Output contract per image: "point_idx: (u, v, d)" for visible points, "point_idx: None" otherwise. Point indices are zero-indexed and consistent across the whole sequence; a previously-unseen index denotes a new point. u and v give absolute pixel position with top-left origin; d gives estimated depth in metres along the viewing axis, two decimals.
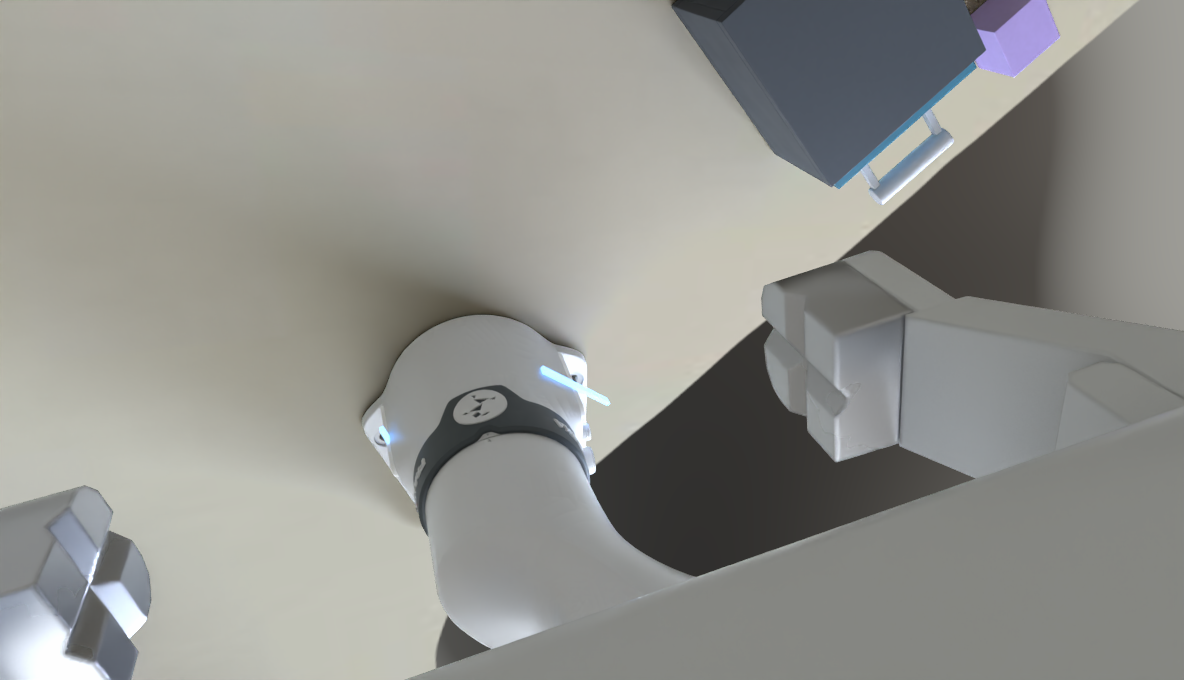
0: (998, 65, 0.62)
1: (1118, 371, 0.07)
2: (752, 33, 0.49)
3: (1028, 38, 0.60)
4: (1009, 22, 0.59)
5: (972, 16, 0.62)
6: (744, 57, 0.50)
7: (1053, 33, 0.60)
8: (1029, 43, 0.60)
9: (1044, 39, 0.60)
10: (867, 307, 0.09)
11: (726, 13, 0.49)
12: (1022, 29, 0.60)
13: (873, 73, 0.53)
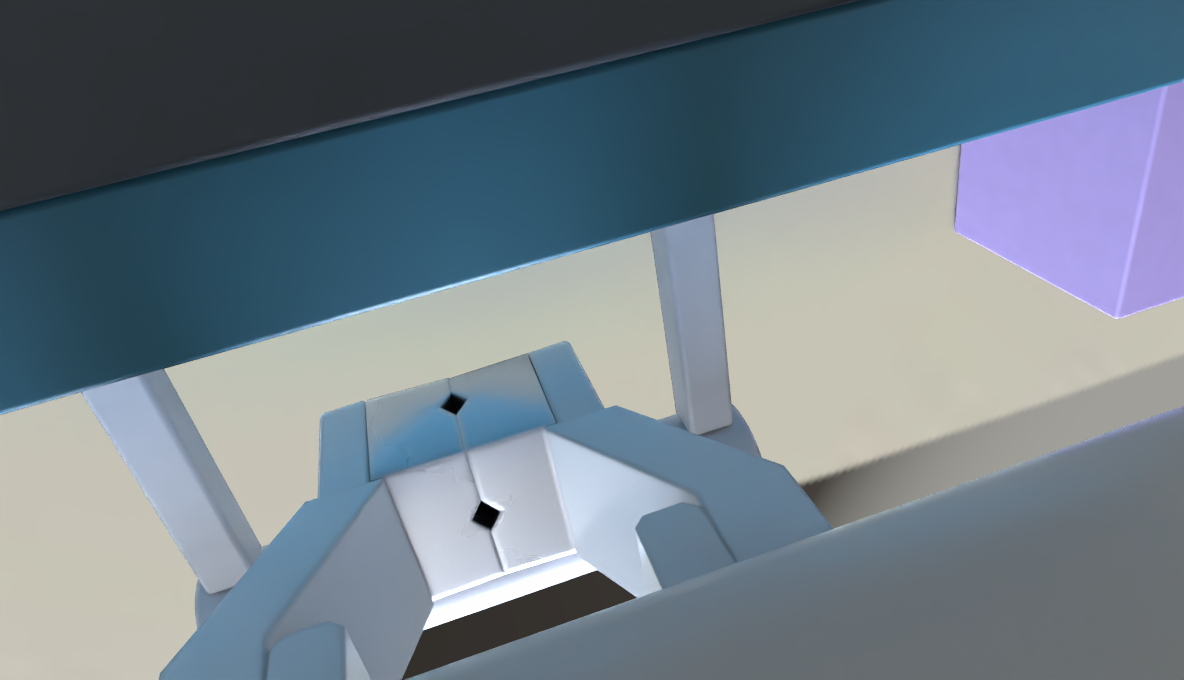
0: (1063, 240, 0.13)
1: (690, 516, 0.06)
2: None
3: None
4: None
5: None
6: None
7: None
8: None
9: None
10: (516, 415, 0.08)
11: None
12: None
13: None
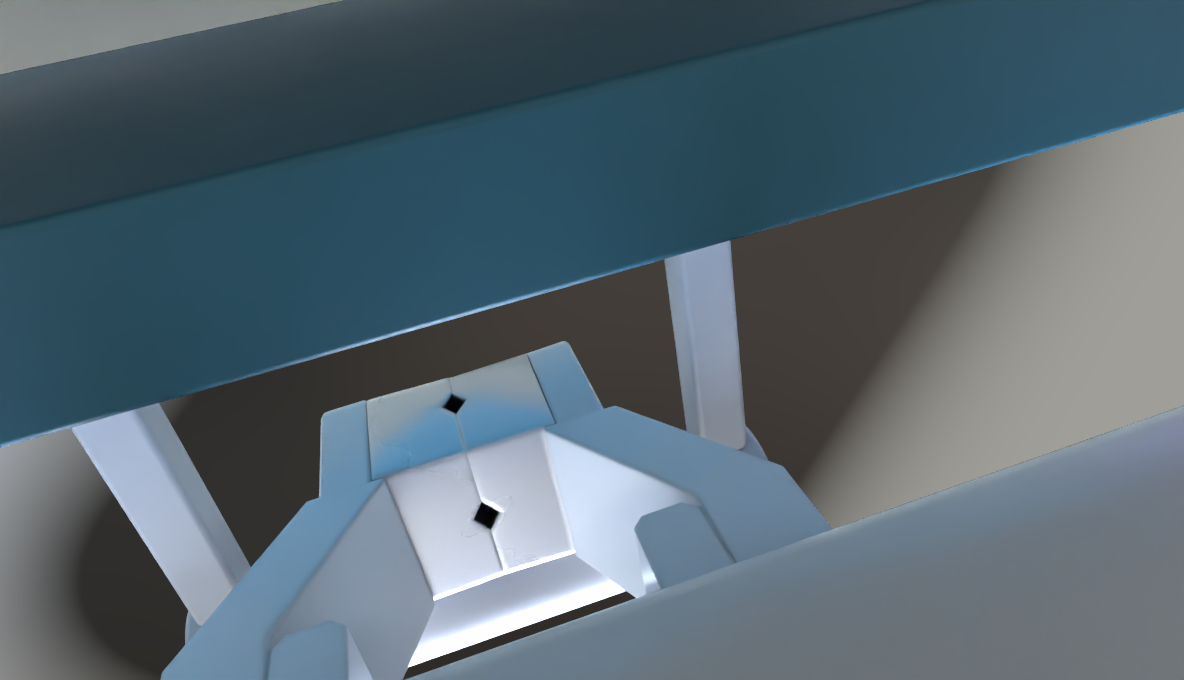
0: None
1: (689, 517, 0.06)
2: None
3: None
4: None
5: None
6: None
7: None
8: None
9: None
10: (515, 415, 0.08)
11: None
12: None
13: None
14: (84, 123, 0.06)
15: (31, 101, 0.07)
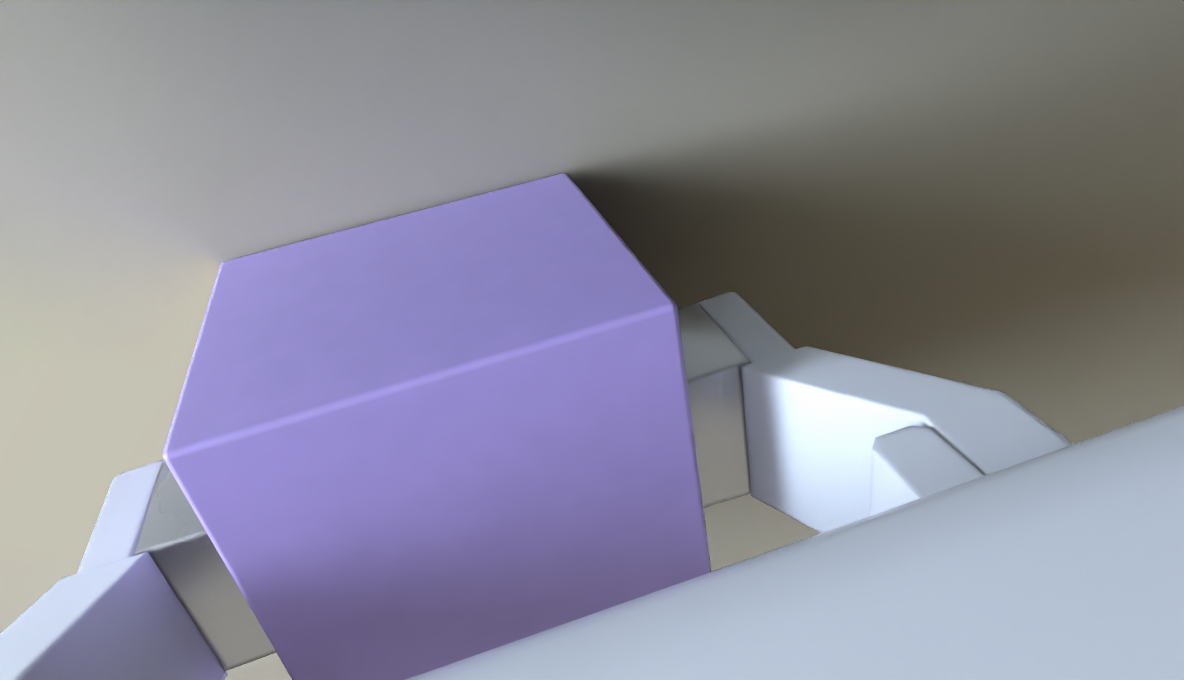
0: (285, 346, 0.07)
1: (925, 437, 0.07)
2: None
3: (464, 564, 0.08)
4: (672, 426, 0.08)
5: None
6: None
7: None
8: (418, 574, 0.08)
9: (386, 672, 0.08)
10: (707, 356, 0.08)
11: None
12: (561, 519, 0.08)
13: None
14: None
15: None
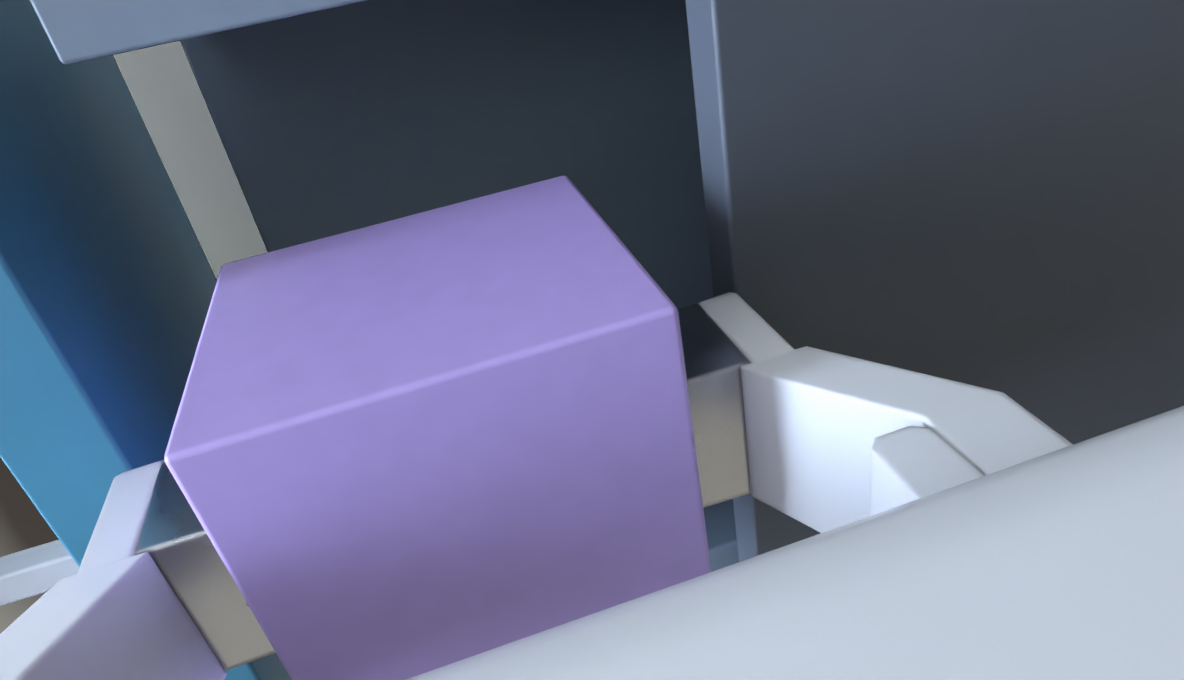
0: (286, 349, 0.07)
1: (925, 437, 0.07)
2: None
3: (465, 566, 0.08)
4: (673, 428, 0.08)
5: None
6: None
7: None
8: (420, 576, 0.08)
9: (386, 674, 0.08)
10: (706, 356, 0.08)
11: None
12: (561, 522, 0.08)
13: (1059, 215, 0.11)
14: (112, 272, 0.11)
15: (111, 174, 0.12)
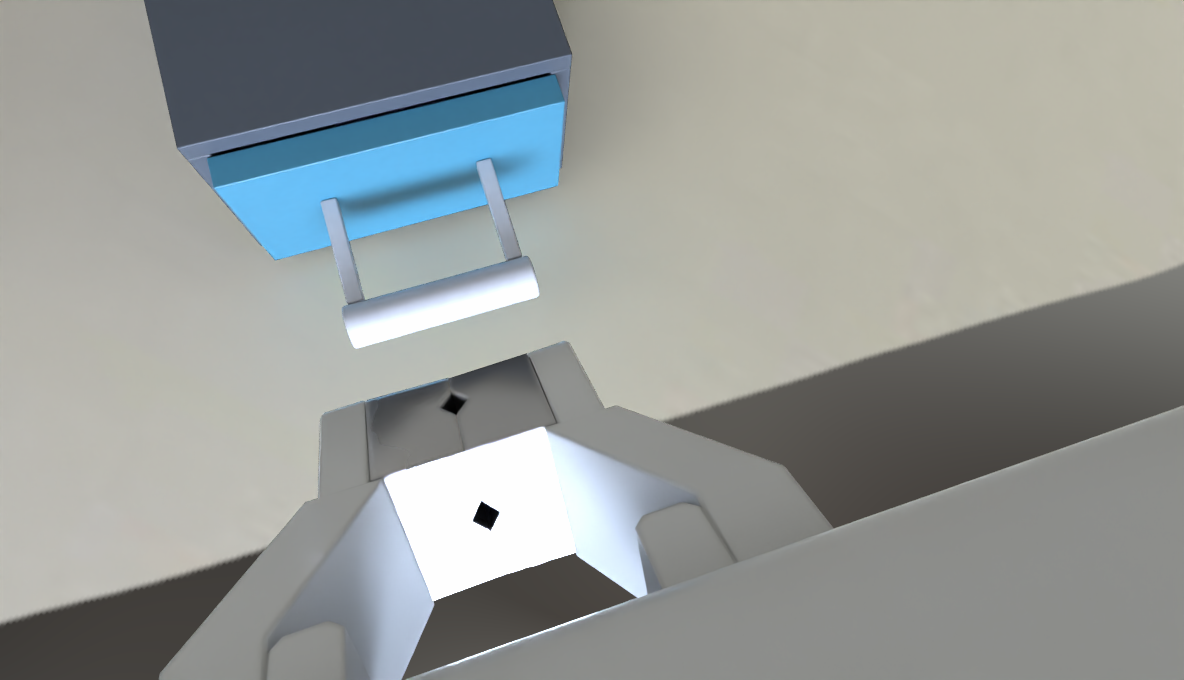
0: None
1: (690, 516, 0.06)
2: None
3: None
4: None
5: None
6: None
7: None
8: None
9: None
10: (516, 415, 0.08)
11: None
12: None
13: None
14: None
15: None
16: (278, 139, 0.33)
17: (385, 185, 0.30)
